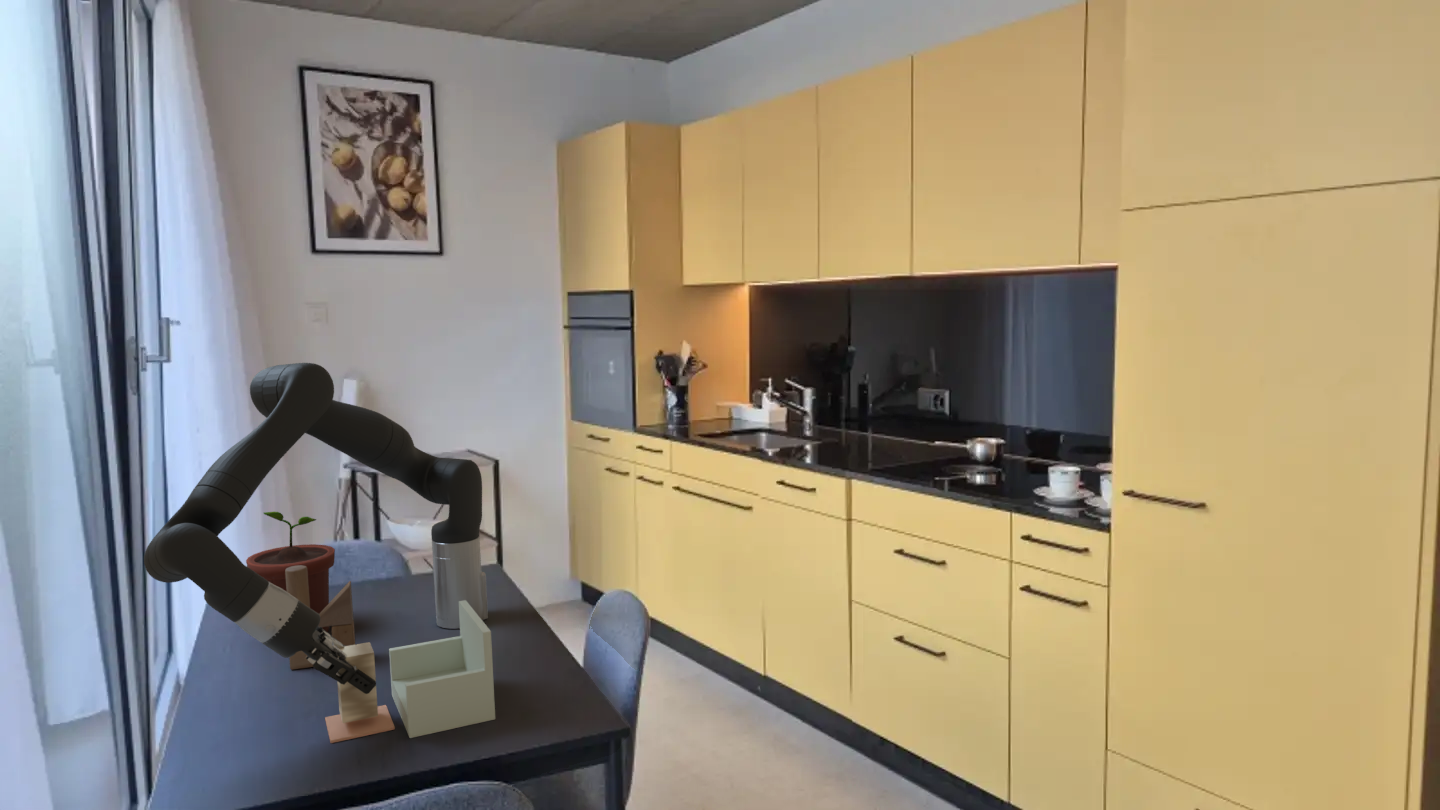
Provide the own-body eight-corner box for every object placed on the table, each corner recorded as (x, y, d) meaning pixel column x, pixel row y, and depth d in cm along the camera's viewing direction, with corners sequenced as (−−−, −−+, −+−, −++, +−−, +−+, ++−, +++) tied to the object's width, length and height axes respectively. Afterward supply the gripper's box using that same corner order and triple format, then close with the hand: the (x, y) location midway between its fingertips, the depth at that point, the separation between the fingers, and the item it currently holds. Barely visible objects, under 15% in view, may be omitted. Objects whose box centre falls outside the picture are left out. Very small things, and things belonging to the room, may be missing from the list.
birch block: (342, 723, 141) (338, 658, 140) (339, 710, 145) (335, 648, 144) (377, 716, 143) (373, 652, 142) (373, 703, 147) (369, 642, 146)
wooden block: (355, 662, 170) (348, 564, 168) (290, 670, 166) (282, 571, 164) (356, 655, 173) (349, 559, 171) (292, 663, 170) (285, 566, 168)
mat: (330, 743, 138) (330, 740, 138) (325, 719, 146) (325, 717, 146) (394, 729, 142) (394, 726, 142) (386, 707, 150) (385, 704, 150)
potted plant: (243, 656, 174) (232, 523, 171) (242, 621, 193) (232, 502, 190) (346, 638, 182) (337, 511, 179) (335, 607, 201) (327, 492, 198)
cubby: (409, 738, 139) (404, 646, 138) (391, 695, 155) (386, 613, 153) (495, 719, 145) (490, 631, 144) (469, 680, 160) (465, 600, 159)
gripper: (299, 612, 132) (394, 678, 139) (293, 586, 145) (380, 647, 152) (260, 656, 130) (358, 720, 137) (257, 625, 143) (347, 685, 150)
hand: (369, 681), depth 144 cm, fingers closed on birch block, 5 cm apart
